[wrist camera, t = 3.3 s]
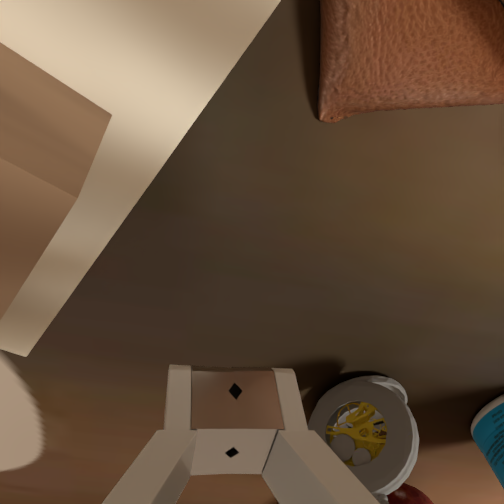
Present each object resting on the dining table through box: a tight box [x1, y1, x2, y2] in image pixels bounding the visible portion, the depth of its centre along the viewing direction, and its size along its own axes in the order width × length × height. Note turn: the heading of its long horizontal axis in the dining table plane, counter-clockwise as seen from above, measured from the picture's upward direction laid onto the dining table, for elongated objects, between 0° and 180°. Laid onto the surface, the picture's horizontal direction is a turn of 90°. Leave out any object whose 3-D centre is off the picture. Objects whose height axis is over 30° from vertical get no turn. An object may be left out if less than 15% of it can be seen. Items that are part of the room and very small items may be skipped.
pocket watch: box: [308, 375, 419, 504], centre depth 25 cm, size 8×8×10 cm
